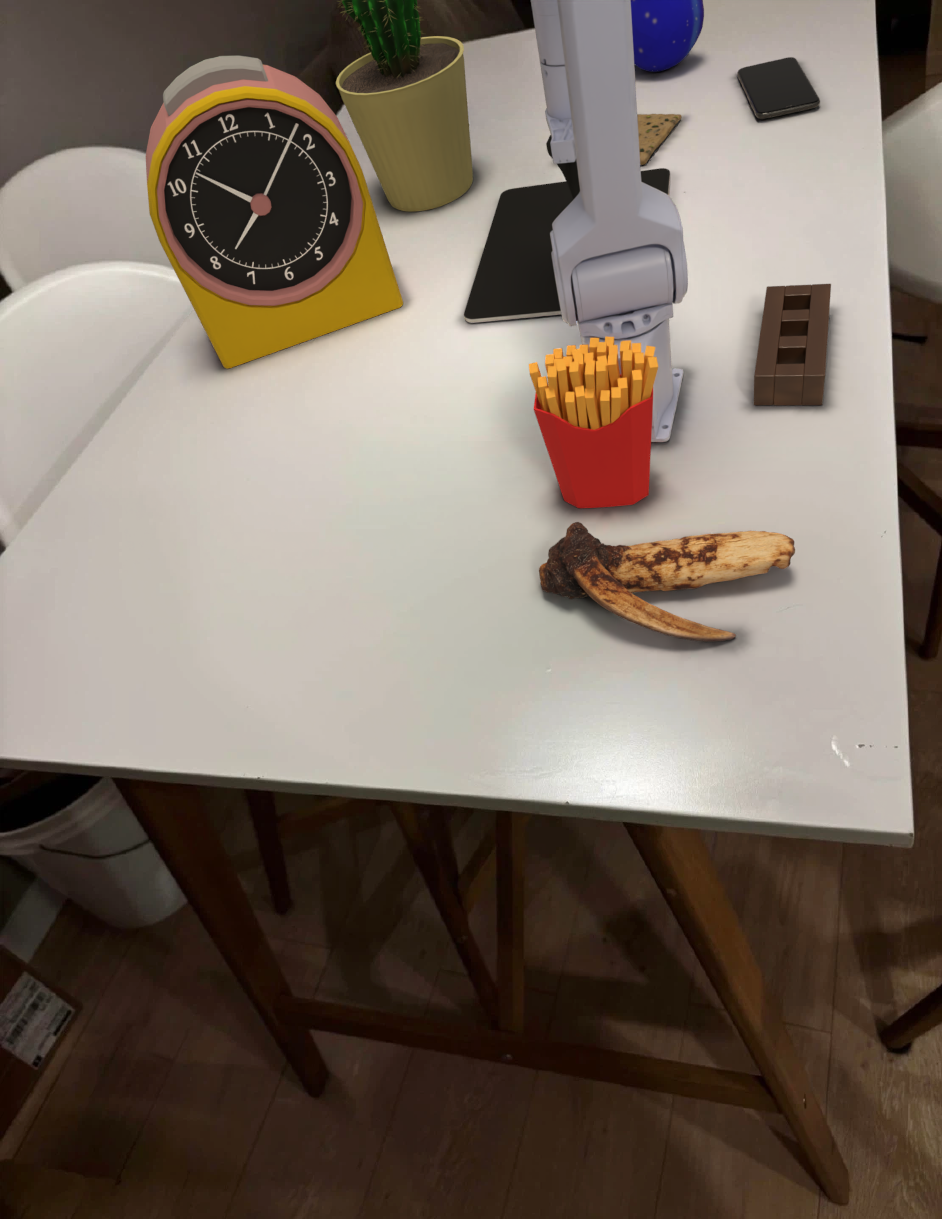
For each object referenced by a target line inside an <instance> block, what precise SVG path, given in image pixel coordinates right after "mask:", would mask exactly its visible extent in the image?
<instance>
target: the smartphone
mask: <svg viewBox="0 0 942 1219" xmlns="http://www.w3.org/2000/svg"><path fill="white" fill-rule="evenodd" d="M736 75H737V78H738V81H739V83H740V84H741V86H742V87H741V88H742V89H743V92H744V93H745V95H746V98H747V100H748V103H749V104H750V107H751V109H752V111H753V113H754V115H755V117H756V118H757V119H759V120H764V119H770V118H775V117H779V116H780V117H781V116H785V115H789V114H793V113H798V112H803V111H808V110H812V109H816V108H818V107H819V106H820V104H821V99H820V97H819V95H818V93H817V92H816V90H815V88H814V86H813V85H812V83H811V81H810V80H809V78H808V76H807V75H806V73H805V71H804V70H803V68H802V67H801V65H800V63H799V61H798V60H797V58H796V57H794V56H788V57H783V58H780V59H774V60H770V61H766V62H762V63H761V62H760V63H757V64H753V65H748V66H744V67H740V69H738V71H737V74H736Z"/></svg>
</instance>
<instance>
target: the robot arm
mask: <svg viewBox="0 0 942 1219" xmlns="http://www.w3.org/2000/svg"><path fill="white" fill-rule="evenodd" d="M530 5H531V11H532V18H533V25H534V31H535V32H534V33H535V39H536V46H537V52H538V60H539V67H540V72H541V78H542V85H543V92H544V99H545V100H544V101H545V107H546V108H545V111H544V114H545V115H544V116H545V122H546V124H547V127H548V131H549V134H550V135H549V136H548V138H547V140H546V143H545V146H546V151H547V153H548V156H549V157H550V158H551V159H552V164H553V165H557V167H558V169H559V170H560V171H561V173H562V175H563V177H564V179H565V181H566V182H567V184H568V187H569V189H570V192H571V195H572V197H573V201H572V202H571V203H570V204H569V205H568V206H567V207H566V208H565V209H564V210H563V211H562V212H561V214H560V215H559V216H558V217H557V218H556V219H555V220H554V222H553V223H552V228H553V230H552V231H551V233H550V237H551V244H552V250H553V251H552V252H551V255H552V261H553V268H554V274H555V280H556V286H557V292H558V298H559V303H560V309H561V314H560V315H561V319H562V321H563V322H565V323H566V324H568V326H569V327H574V326H577V325H578V331H579V335H580V341H581V345H589V344H590V338H599V342H605V336H607V337H614V345H618V364H619V371H620V374H621V362H620V343H621V341H629V340H631V348H632V343H641V353H642V352H644V355H645V350H646V345H647V346H653V347H655V352H654V357H657V362H658V370H657V374H656V378H655V381H654V385H653V412H652V434H651V443H666V442H668V441H669V440H670V439H671V435H672V429H673V425H674V420H675V415H676V412H677V406H678V402H679V397H680V392H681V387H682V384H683V378H684V370H683V368H680V367H679V368H678V367H676V368H675V367H674V368H673V364H672V346H671V345H672V344H671V331H670V330H671V328H670V327H671V326H670V319H673V318H674V306H673V305H677V304H680V303H682V302H683V299H684V298H685V296H686V295H687V293H688V287H689V271H688V262H687V260H688V259H687V252H686V247H685V246H686V245H685V241H684V230H683V229H684V228H683V224H682V220H681V216H680V215H681V214H680V213H679V209H678V207H677V205H676V204H675V203H674V201H673V198H671V196H670V194H669V195H667V194H666V193H664V192H662V191H660V190H658V189H656V188H653V187H651V186H649V185H647V184H645V183H643V182H641V171H642V170H641V165H640V152H639V135H638V118H637V114H638V105H637V104H638V103H637V102H638V101H637V88H636V85H637V84H636V71H635V69H636V68H635V64H634V51H633V34H632V17H631V0H530Z"/></svg>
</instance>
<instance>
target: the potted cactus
mask: <svg viewBox="0 0 942 1219" xmlns="http://www.w3.org/2000/svg"><path fill="white" fill-rule="evenodd" d="M334 2H339V3H338V4H337V6H336V8H335V10H337V9H339V8H340V5H342V7H344V10H343V11H341V12H340V14H342V15H341V18H343V17H344V16H345V15H347V16H350V17H349V18H351V19H353V22H352V28H354V27H353V26H354V24H355V22H356V23H358V24H359V26H358V27H356V28H355V29H356V30H358V32H360V33H361V34H360V35H359V40H361V38H362V37H364V41H365V42H364V43H362V44H360V45H359V47H362V46H364V45H365V44H366V46H364V47H363V50H364V49H366V50H369V52H368V53H367V54H364V55H362V56H361V57H359V58H358V59H355V60H354V61H352V62H351V63H350V64H348V65H347V66H346V67H344V69H343V70H341V72H339V75H338V76H337V77H336V81H335V85H336V88H337V89H338V92H339V94H340V96H341V100H342V103H343V104H344V107H345V109H346V111H347V114H348V115H349V117H350V119H351V122H352V124H353V126H354V128H355V130H356V133H357V135H358V137H359V139H360V141H361V144H362V146H363V148H364V150H365V153H366V155H367V157H368V159H369V162H370V164H371V166H372V168H373V170H374V172H375V174H376V178H377V180H378V181H379V184H380V186H381V189H382V190H383V193H384V194H385V197H386V199H387V201H388V202H389V204H390V205H391V207H392V208H393V209H396V210H398V211H402V212H411V213H412V212H413V213H414V212H423V211H429V210H433V209H436V208H440V207H442V206H445V205H448V204H449V203H452V202H453V201H455V200H457V199H459V198H460V197H461V196H463V195H464V194H465V193H466V192H467V191H469V189H470V188H471V187H472V184H473V180H474V172H473V158H472V146H471V132H470V131H471V130H470V119H469V108H468V107H469V106H468V95H467V92H468V91H467V81H466V67H465V57H464V52H465V50H464V49H465V47H464V44H463V42H462V41H461V40H458V39H457V38H454V37H450V36H443V35H442V36H441V35H436V36H435V35H434V36H433V35H432V34H430V35H431V36H423V35H425V33H424V31H425V30H421V25H420V24H421V22H422V21H426V20H428V19H426V18H425V17H426V16H423V19H422V16H420V14H422V12H421V11H420V10H423V9H424V8H422V5H421V6H418V5H420V2H418V0H337V1H334ZM419 13H420V14H419ZM424 18H425V19H424ZM347 19H348V17H346V18H345V20H347ZM350 21H351V20H349V22H348V23H350ZM421 36H422V37H421ZM359 40H358V41H359Z"/></svg>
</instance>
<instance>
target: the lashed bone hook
mask: <svg viewBox="0 0 942 1219" xmlns="http://www.w3.org/2000/svg"><path fill="white" fill-rule="evenodd" d="M795 553H796V548H795V541H794V538H792V537H790V536H788V535H786V534H784V533H779V532H774V531H771V532H770V531H766V530H760V531H759V530H745V531H743V530H742V531H733V532H732V531H731V532H717V533H704V534H697V535H688V536H683V537H681V538H673V539H667V540H656V541H651V542H650V541H649V542H642V543H638V544H632V545H631V544H630V545H626V544H625V545H624V544H618V545H611V544H605V543H602V542H601V540H600V539H599V538H597V537H595V536H593V535H592V533H590V532H589V530H588V528H587V527H586V526H585V525H584V524H583V523H582V522H579V521H575V522H572V523H570V525H569V526H568V527H567V528H566V533H565V536H563V537H561V538H560V539H559V540H558V541H557V542H556V543H555V544H553V545H552V546H551V547H550V548H549V549H548V554H547V557H548V559H547V560H546V562H545V563H542V564H541V565H540V566H539V567H538V574H539V575H538V576H539V581H540V588H541V590H542V591H543V592H545V593H549V594H550V593H552V594H553V595H561V597H562V598H565V597H566V598H568V599H570V600H573V599H583V598H585V597H590V598H591V599H592V600H593V601H594V602H595V603H596V604H598V605H599V606H601V607H602V608H604V609H606V610H607V611H609V612H610V613H612V614H614V615H615V616H617V617H619V618H621V619H623V620H625V621H627V622H630V623H632V624H635V625H637V626H640V627H642V628H644V629H647V630H650V631H652V632H655V633H657V634H658V633H659V634H662V635H665V636H668V637H673V638H676V639H682V640H687V641H695V642H702V643H703V642H704V643H707V642H725V641H729V640H733V639H735V638H736V637H737V634H736V633H734V632H731V631H727V630H723V629H721V628H715V627H712V626H708V625H705V624H702V623H700V622H696V621H693V620H689V619H687V618H683V617H681V616H679V615H676V614H674V613H671V612H669V611H667V610H664V609H663V608H660V607H658V606H656V605H654V604H652V603H649V602H648V601H646V600H644V599H642V598H640V597H639V596H637V595H635V593H644V592H654V591H663V592H669V591H679V590H690V589H691V590H694V589H698V588H702V587H704V586H705V585H709V584H715V583H721V582H727V581H728V582H732V581H734V580H738V579H743V578H745V577H751V576H757V575H762V574H768V573H769V572H770V570H771V568H778V569H780V570H785V569H787V568H788V567H790V565H791V563H792V562H791V560H792V557H793V556H795Z"/></svg>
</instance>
